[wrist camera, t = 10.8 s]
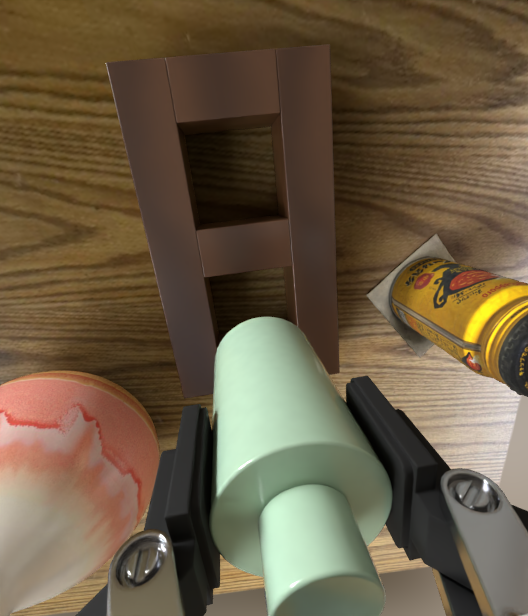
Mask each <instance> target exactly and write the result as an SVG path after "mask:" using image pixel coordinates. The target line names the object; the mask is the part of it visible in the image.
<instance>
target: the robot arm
mask: <svg viewBox="0 0 528 616" xmlns="http://www.w3.org/2000/svg"><path fill="white" fill-rule="evenodd" d="M346 403H347V405H348V407H349V409H350V410H351V412H352V414H353V415H354V417H355V419H356V420H357V422H358V424H359V425H360V427H361V429H362V430H363V432H364V434H365V435H366V437H367V439H368V441H369V442H370V444H371V446H372V447H373V449H374V451H375V452H376V454H377V456H378V457H379V459H380V461H381V462H382V464H383V466H384V467H385V469H386V471H387V473H388V475H389V478H390V480H391V485H392V493H393V501H392V508H391V511H390V515H389V517H388V519H387V522H386V526H387V528H388V530H389V532H390V534H391V536H392V538H393V540H394V542H395V544H396V546H397V547H398V548H404V550H405V552H406V554H407V556H408V558H409V560H414V559H418V558H422V560H423V562H424V563H425V564H427V565H428V566H430V567H432V571H433V574H434V577H435V581H436V584H437V587H438V590H439V594H440V597H441V600H442V603H443V606H444V610H445V613H446V616H528V511H526V510H523V509H521V508H518V507H516V506H513V505H511V504H510V502H509V501H508V499H507V497H506V496H505V494H504V493H503V491H502V490H501V489H500V488H499V486H498V485H497V484H496V483H494V482H493V481H492V480H491V479H489V478H488V477H486V476H484V475H482V474H480V473H478V472H475V471H472V470H469V469H462V468H459V469H450V468H449V466H448V465H447V464H446V463H445V461H444V460H443V459H442V458H441V457H440V455H439V454H438V453H437V452H436V451H435V449H434V448H433V447H432V446H431V445H430V443H429V442H428V441H427V440H426V439H425V437H424V436H423V435H422V434H421V433H420V431H419V430H418V429H417V428H416V427H415V425H414V424H413V423H412V422H411V421H410V419H409V418H408V417H407V416H406V415H405V413H404V412H403V411H402V410H399V409H396V410H395V409H394V408H393V407H392V405H391V404H390V403H389V402H388V400H387V399H386V398H385V397H384V395H383V394H382V393H381V392H380V390H379V389H378V388H377V387H376V385H375V384H374V383H373V382H372V380H371V379H370V378H369V377H368V376H363V377H357V378H352V379H351V383H347V385H346ZM211 445H212V430H211V425H210V420H209V415H208V411H207V408H206V407H205V408H201V405H200V404H197V405H191V406H185V407H183V411H182V417H181V423H180V429H179V434H178V440H177V446H176V449H173V450H167V451H163V452H162V454H161V457H160V461H159V466H158V470H157V475H156V479H155V484H154V488H153V493H152V497H151V501H150V506H149V510H148V515H147V519H146V524H145V528H144V531H141V532H139V533H137V534H135V535H134V536H132V537H130V538H129V539H128V540H127V541H126V542H125V543H124V544H123V545H122V546H121V547H120V548H119V550H118V551H117V552H116V554H115V555H114V558H113V560H112V562H111V564H110V568H109V573H108V584H107V585H106V586H105V587H104V588H103V589H102V590H101V591H100V592H99V593H98V594H97V595H96V596H95V597H94V598H93V599H92V600H91V601H90V602H89V603H88V604H87V605H86V606H85V607H84V608H83V609H82V610H81V611H80V612H79V613H78V614H77V615H76V616H204V614H205V613H206V605H210V604H213V589H214V588H219V586H220V553H219V552H218V550H217V548H216V547H215V545H214V543H213V540H212V537H211V532H210V527H209V501H210V473H211Z"/></svg>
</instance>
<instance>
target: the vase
mask: <svg viewBox="0 0 528 616" xmlns="http://www.w3.org/2000/svg"><path fill="white" fill-rule="evenodd" d="M159 461H160V446H159V441H158V437H157V432H156V429H155V427H154V424H153V422H152V420H151V418H150V416H149V414H148V413H147V411H146V410H145V408H144V407H143V405H142V404H141V403H140V402H139V401H138V400H137V399H136V398H135V397H134V396H133V395H132V394H131V393H130V392H128V391H127V390H126V389H125V388H123V387H121V386H120V385H118V384H116V383H114V382H113V381H110V380H108V379H105V378H103V377H101V376H97V375H93V374H90V373H85V372H78V371H59V370H55V371H46V372H38V373H33V374H29V375H25V376H21V377H18V378H15V379H13V380H10V381H8V382H5V383H3V384H0V616H9V615H10V614H11V613H13V612H16V611H19V610H22V609H25V608H28V607H30V606H33V605H36V604H38V603H41V602H43V601H46V600H48V599H51V598H53V597H55V596H57V595H59V594H61V593H63V592H65V591H66V590H68V589H70V588H72V587H74V586H75V585H77V584H78V583H80V582H82V581H83V580H85V579H86V578H88V577H89V576H90V575H92V574H93V573H94V572H96V571H97V570H98V569H99V568H100V567H102V566H103V565H104V564H105V563H106V562H108V561H109V560H110V558H111V557H112V556H113V555H114V554H115V553H116V552H117V551H118V550H119V548H120V547H121V546H122V545H123V544H124V543H125V542H126V541H127V540H128V538H129V537H130V535H131V534H132V533H133V531H134V530H135V528H136V527H137V525H138V524H139V522H140V521H141V519H142V517H143V515H144V513H145V511H146V509H147V507H148V504H149V502H150V500H151V497H152V493H153V488H154V484H155V479H156V475H157V470H158V466H159Z"/></svg>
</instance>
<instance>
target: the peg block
mask: <svg viewBox="0 0 528 616" xmlns="http://www.w3.org/2000/svg"><path fill="white" fill-rule="evenodd" d="M106 66H107V71H108V75H109V79H110V83H111V88H112V92H113V96H114V101H115V105H116V109H117V113H118V118H119V122H120V126H121V130H122V135H123V139H124V143H125V148H126V152H127V156H128V160H129V165H130V169H131V173H132V178H133V182H134V186H135V190H136V195H137V199H138V203H139V208H140V212H141V216H142V220H143V225H144V229H145V233H146V237H147V242H148V246H149V250H150V255H151V259H152V263H153V267H154V272H155V276H156V280H157V285H158V289H159V293H160V297H161V302H162V306H163V310H164V315H165V319H166V323H167V327H168V332H169V336H170V340H171V345H172V349H173V353H174V357H175V362H176V366H177V370H178V374H179V379H180V383H181V387H182V392H183V396H184V398H191V397H197V396H203V395H209V394H213V390H214V363H215V355H216V351H217V348H218V346H219V344H220V342H221V341H222V339H223V338H224V337H225V335H226V334H227V333H221V334H219V331H218V326H217V320H216V314H215V308H214V302H213V297H212V291H211V285H210V279H209V277H212V276H220V275H227V274H234V273H242V272H249V271H257V270H264V269H271V268H279V267H283V271H284V282H285V294H286V305H287V316H288V321H289V322H291V323H293V324H294V325H296V326H297V327H298V328H300V329H301V330H302V331H303V332H304V334H305V335H306V336H307V338H308V340H309V341H310V343H311V345H312V346H313V348H314V350H315V351H316V353H317V355H318V356H319V358H320V360H321V361H322V363H323V365H324V367H325V368H326V370H327V372H328V373H329V375H331V374H337V373H339V338H338V303H337V268H336V233H335V198H334V163H333V128H332V93H331V58H330V45H329V44H328V45H315V46H303V47H291V48H278V49H276V50H275V49H264V50H251V51H239V52H227V53H214V54H202V55H190V56H177V57H166V58H154V59H141V60H129V61H117V62H107V63H106ZM270 126H271V135H272V146H273V158H274V169H275V180H276V192H277V203H278V214H279V215H273V216H265V217H257V218H249V219H241V220H232V221H224V222H216V223H208V224H200V222H199V216H198V210H197V204H196V199H195V193H194V187H193V181H192V175H191V170H190V164H189V158H188V152H187V147H186V141H185V135H190V134H200V133H210V132H220V131H230V130H240V129H250V128H260V127H270ZM184 134H185V135H184Z"/></svg>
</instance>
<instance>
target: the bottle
mask: <svg viewBox="0 0 528 616" xmlns="http://www.w3.org/2000/svg"><path fill="white" fill-rule="evenodd" d="M392 501H393V493H392V485H391V480H390V478H389V475H388V473H387V471H386V469H385V467H384V466H383V464H382V462H381V461H380V459H379V457H378V456H377V454H376V452H375V451H374V449H373V447H372V446H371V444H370V442H369V441H368V439H367V437H366V435H365V434H364V432H363V430H362V429H361V427H360V425H359V424H358V422H357V420H356V419H355V417H354V415H353V414H352V412H351V410H350V409H349V407H348V405H347V404H346V402H345V400H344V398H343V397H342V395H341V393H340V392H339V390H338V388H337V387H336V385H335V383H334V382H333V380H332V378H331V377H330V375H329V373H328V372H327V370H326V368H325V367H324V365H323V363H322V361H321V360H320V358H319V356H318V355H317V353H316V351H315V350H314V348H313V346H312V345H311V343H310V341H309V340H308V338H307V336H306V335H305V334H304V332H303V331H302V330H301V329H300V328H298V327H297V326H296V325H294V324H293V323H291V322H289V321H287V320H284V319H281V318H276V317H258V318H253V319H250V320H247V321H245V322H242V323H240V324H239V325H237V326H236V327H234V328H233V329H232V330H230V331H229V332H228V333H227V334H226V335H225V337H224V338H223V339H222V341H221V342H220V344H219V346H218V348H217V351H216V355H215V363H214V390H213V418H212V445H211V473H210V501H209V527H210V532H211V537H212V540H213V543H214V545H215V547H216V548H217V550H218V552H219V553H220V554H221V555H222V556H223V558H224V559H226V560H227V561H228V562H229V563H230V564H232V565H233V566H235V567H236V568H238V569H240V570H242V571H244V572H247V573H250V574H253V575H256V576H261V577H263V581H264V590H265V599H266V607H267V616H380V615H381V613H382V611H383V609H384V606H385V602H386V597H385V589H384V586H383V583H382V581H381V578H380V576H379V574H378V571H377V569H376V566H375V564H374V562H373V559H372V557H371V554H370V552H369V549H368V547H367V546H368V545H369V544H370V543H371V542H372V541H373V540H374V539H375V538H376V537H377V536H378V534H379V533H380V532H381V530H382V529H383V527H384V525H385V524H386V522H387V519H388V517H389V515H390V511H391V508H392Z"/></svg>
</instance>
